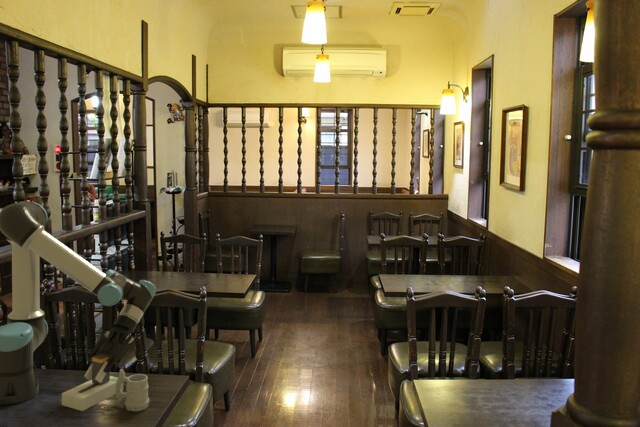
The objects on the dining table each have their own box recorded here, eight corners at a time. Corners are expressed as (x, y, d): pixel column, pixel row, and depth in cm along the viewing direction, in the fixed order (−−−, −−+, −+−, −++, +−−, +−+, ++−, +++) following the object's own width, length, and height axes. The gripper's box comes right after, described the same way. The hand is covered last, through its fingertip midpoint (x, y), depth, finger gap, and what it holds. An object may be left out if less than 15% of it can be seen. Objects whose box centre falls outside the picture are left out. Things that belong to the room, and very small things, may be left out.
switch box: (61, 405, 171) (61, 392, 171) (103, 384, 187) (103, 373, 187) (82, 411, 168) (82, 398, 167) (123, 389, 184) (123, 378, 184)
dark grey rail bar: (104, 383, 189) (104, 379, 189) (106, 381, 190) (106, 378, 190) (130, 389, 184) (130, 386, 184) (132, 388, 186) (132, 385, 185)
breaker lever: (91, 382, 179) (91, 357, 178) (100, 378, 183) (101, 353, 182) (100, 385, 177) (101, 359, 177) (109, 380, 181) (110, 355, 180)
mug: (141, 413, 168) (142, 377, 167) (108, 408, 170) (108, 373, 169) (153, 403, 175) (154, 368, 174) (121, 398, 177) (122, 364, 176)
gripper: (151, 328, 190) (117, 389, 176) (115, 321, 196) (79, 379, 182) (141, 317, 184) (105, 379, 170) (104, 310, 191) (67, 369, 177)
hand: (92, 379), depth 176 cm, fingers closed on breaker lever, 4 cm apart
